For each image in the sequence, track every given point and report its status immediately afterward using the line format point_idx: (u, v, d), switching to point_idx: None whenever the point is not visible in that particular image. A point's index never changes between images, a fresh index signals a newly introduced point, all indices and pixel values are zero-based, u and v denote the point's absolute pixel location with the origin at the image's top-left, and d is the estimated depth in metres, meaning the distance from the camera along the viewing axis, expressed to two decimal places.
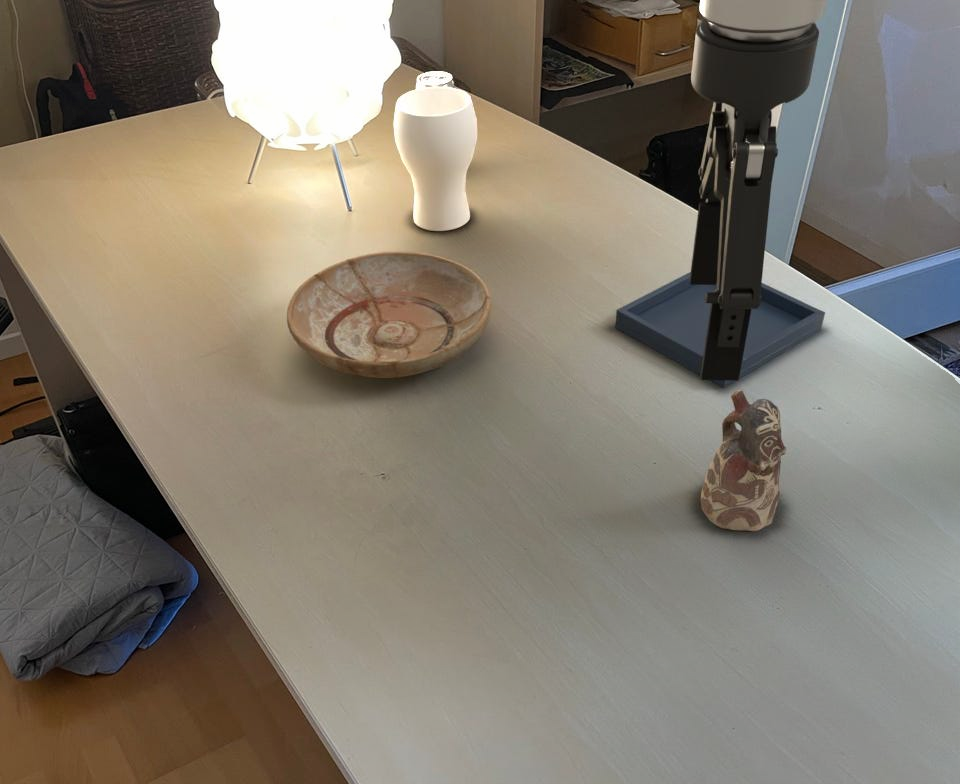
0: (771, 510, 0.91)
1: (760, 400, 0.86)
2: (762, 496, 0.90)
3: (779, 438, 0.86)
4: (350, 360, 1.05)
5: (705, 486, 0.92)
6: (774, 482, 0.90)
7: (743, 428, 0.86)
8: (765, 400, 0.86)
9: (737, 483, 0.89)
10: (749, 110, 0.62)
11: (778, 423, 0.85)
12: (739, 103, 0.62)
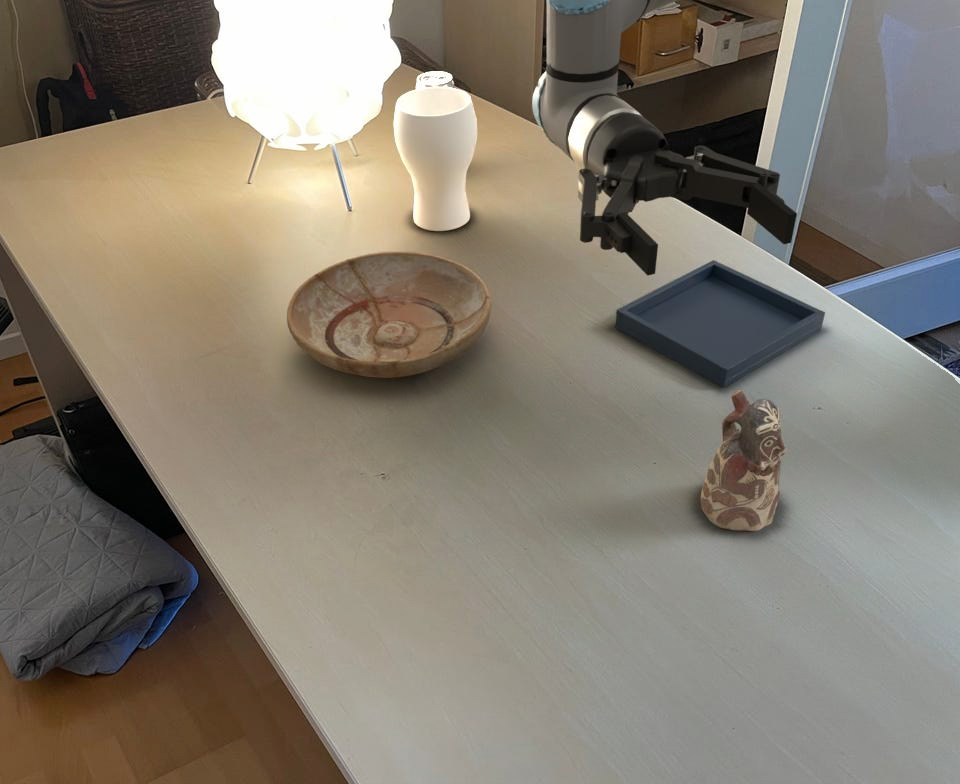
0: (771, 510, 0.91)
1: (760, 400, 0.86)
2: (762, 496, 0.90)
3: (779, 438, 0.86)
4: (350, 360, 1.05)
5: (705, 486, 0.92)
6: (774, 482, 0.90)
7: (743, 428, 0.86)
8: (765, 400, 0.86)
9: (737, 483, 0.89)
10: None
11: (778, 423, 0.85)
12: None
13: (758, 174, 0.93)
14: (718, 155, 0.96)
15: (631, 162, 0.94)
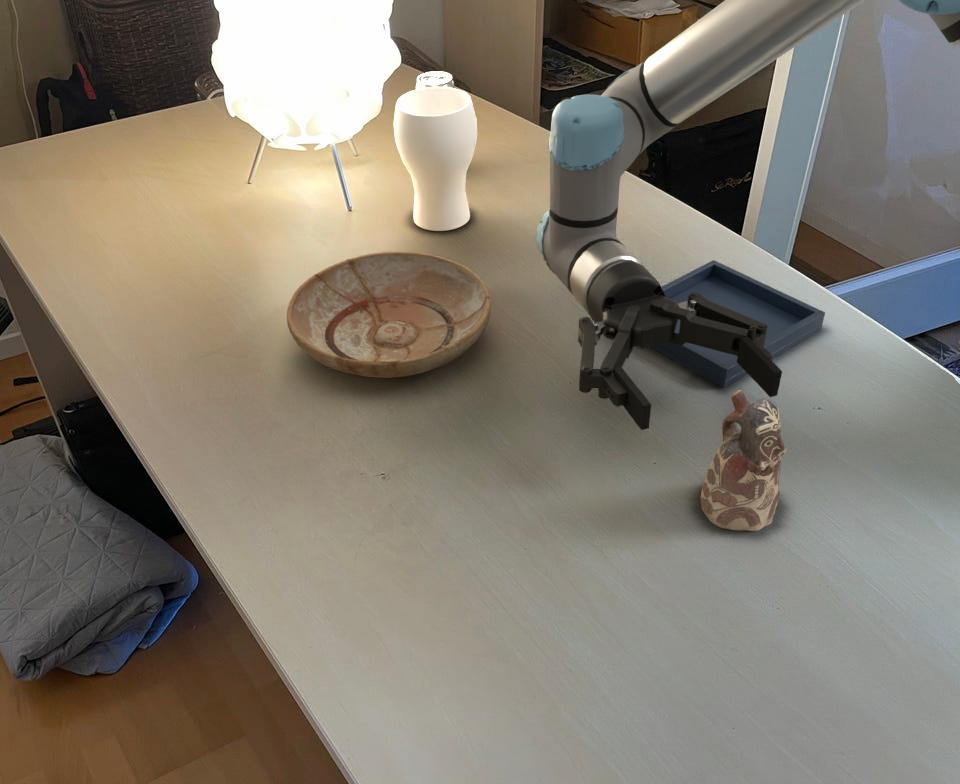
0: (771, 510, 0.91)
1: (760, 400, 0.86)
2: (762, 496, 0.90)
3: (779, 438, 0.86)
4: (350, 360, 1.05)
5: (705, 486, 0.92)
6: (774, 482, 0.90)
7: (743, 428, 0.86)
8: (765, 400, 0.86)
9: (737, 483, 0.89)
10: (600, 320, 1.04)
11: (778, 423, 0.85)
12: None
13: (747, 325, 0.99)
14: (710, 303, 1.02)
15: (628, 312, 1.00)
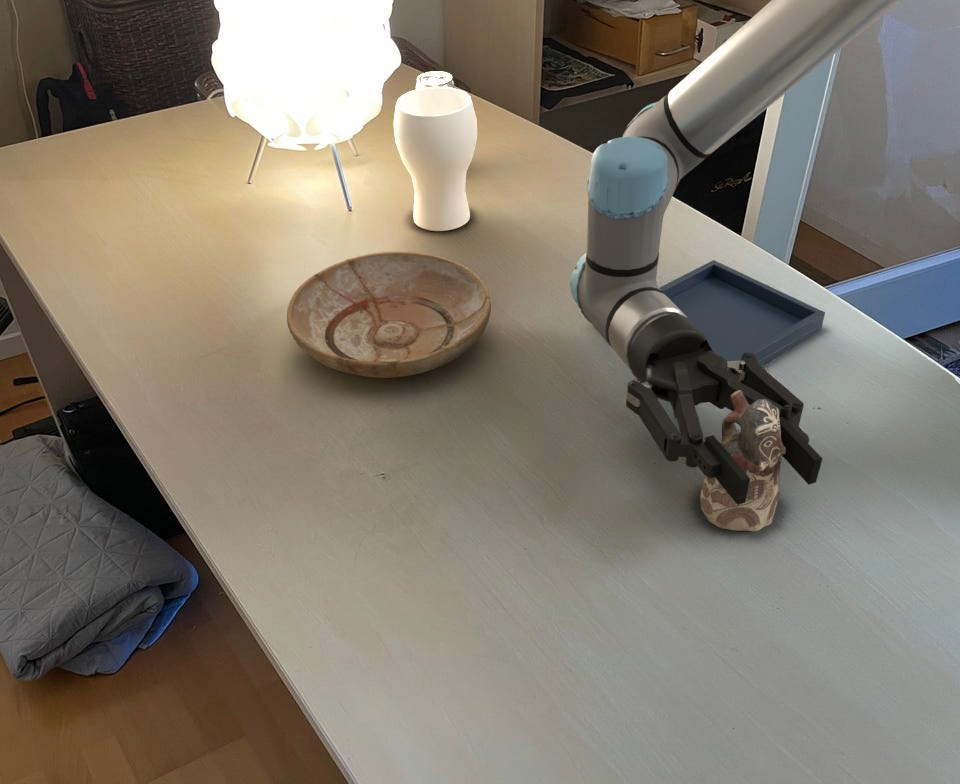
0: (771, 510, 0.91)
1: (759, 400, 0.86)
2: (761, 496, 0.90)
3: (778, 438, 0.86)
4: (350, 360, 1.05)
5: (705, 486, 0.92)
6: (773, 482, 0.90)
7: (742, 428, 0.86)
8: (764, 400, 0.86)
9: None
10: (642, 377, 0.97)
11: (777, 423, 0.85)
12: (641, 380, 0.98)
13: (783, 399, 0.92)
14: (759, 368, 0.95)
15: (674, 370, 0.94)
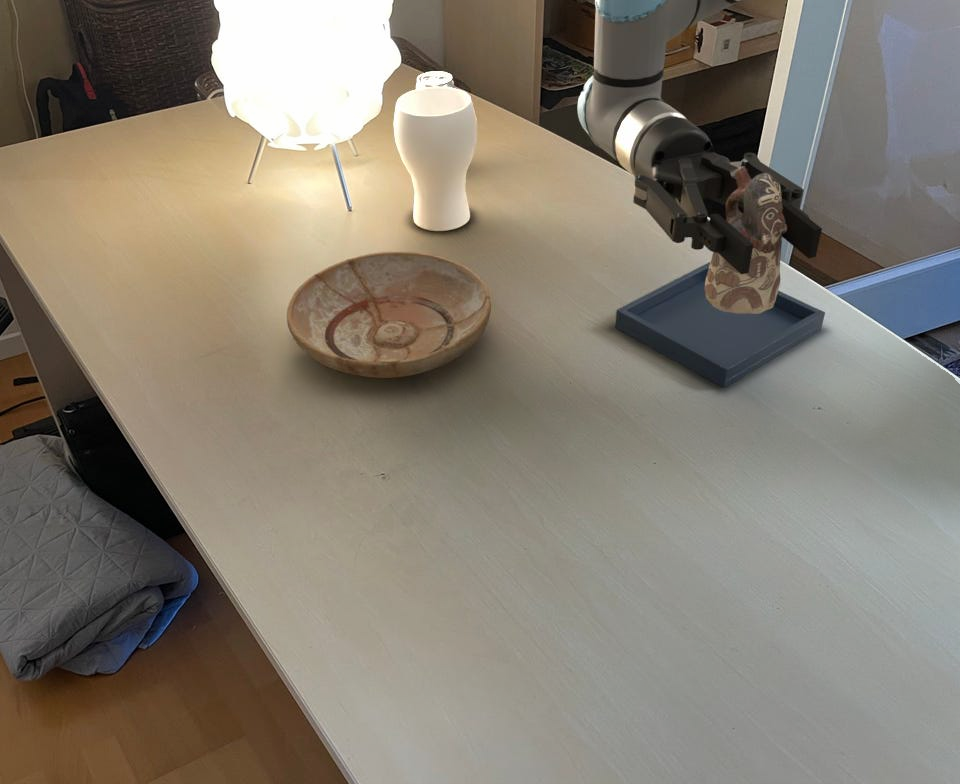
0: (772, 292, 0.96)
1: (762, 173, 0.90)
2: (764, 275, 0.94)
3: (780, 211, 0.90)
4: (350, 360, 1.05)
5: (709, 271, 0.96)
6: (775, 261, 0.94)
7: (745, 201, 0.90)
8: (767, 173, 0.90)
9: None
10: (649, 177, 1.02)
11: (779, 195, 0.90)
12: None
13: (784, 187, 0.96)
14: (760, 164, 0.99)
15: (679, 164, 0.98)
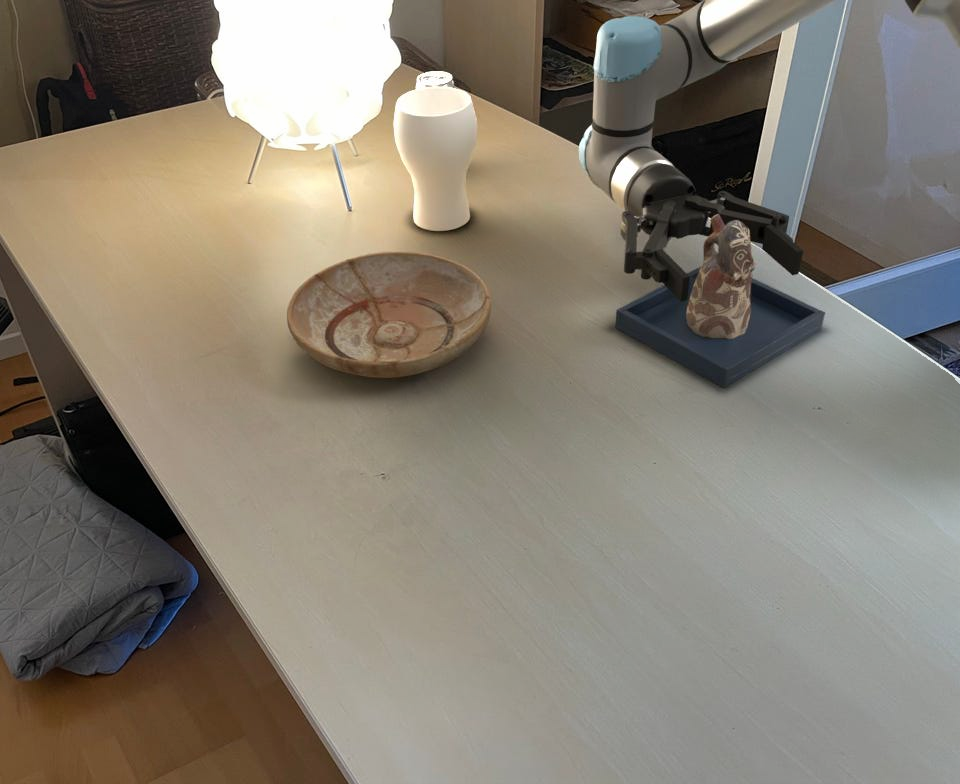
0: (744, 320, 1.11)
1: (734, 220, 1.05)
2: (736, 306, 1.09)
3: (749, 252, 1.06)
4: (350, 360, 1.05)
5: (690, 302, 1.12)
6: (745, 294, 1.09)
7: (719, 244, 1.06)
8: (737, 220, 1.05)
9: (715, 293, 1.08)
10: None
11: (748, 239, 1.05)
12: None
13: (771, 216, 1.13)
14: (737, 199, 1.16)
15: (665, 206, 1.14)
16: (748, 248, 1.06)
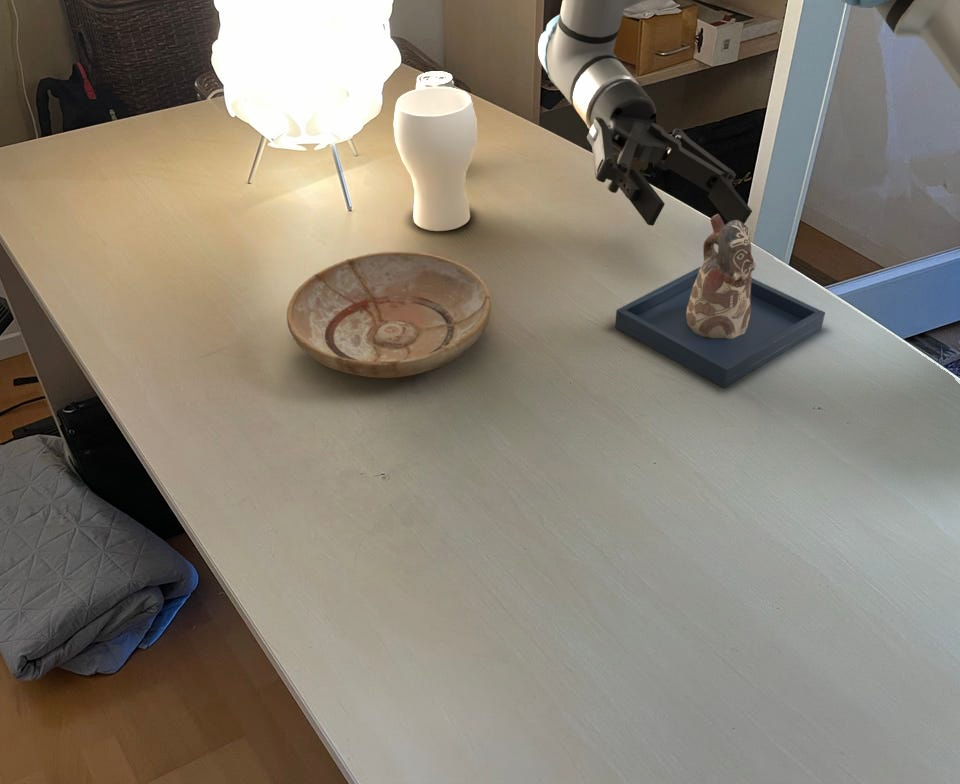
0: (744, 320, 1.11)
1: (733, 220, 1.05)
2: (736, 306, 1.09)
3: (749, 252, 1.06)
4: (350, 360, 1.05)
5: (690, 302, 1.12)
6: (745, 294, 1.09)
7: (719, 244, 1.06)
8: (737, 220, 1.05)
9: (715, 293, 1.08)
10: None
11: (748, 239, 1.05)
12: None
13: (721, 168, 1.20)
14: (692, 142, 1.22)
15: (635, 125, 1.17)
16: (748, 248, 1.06)
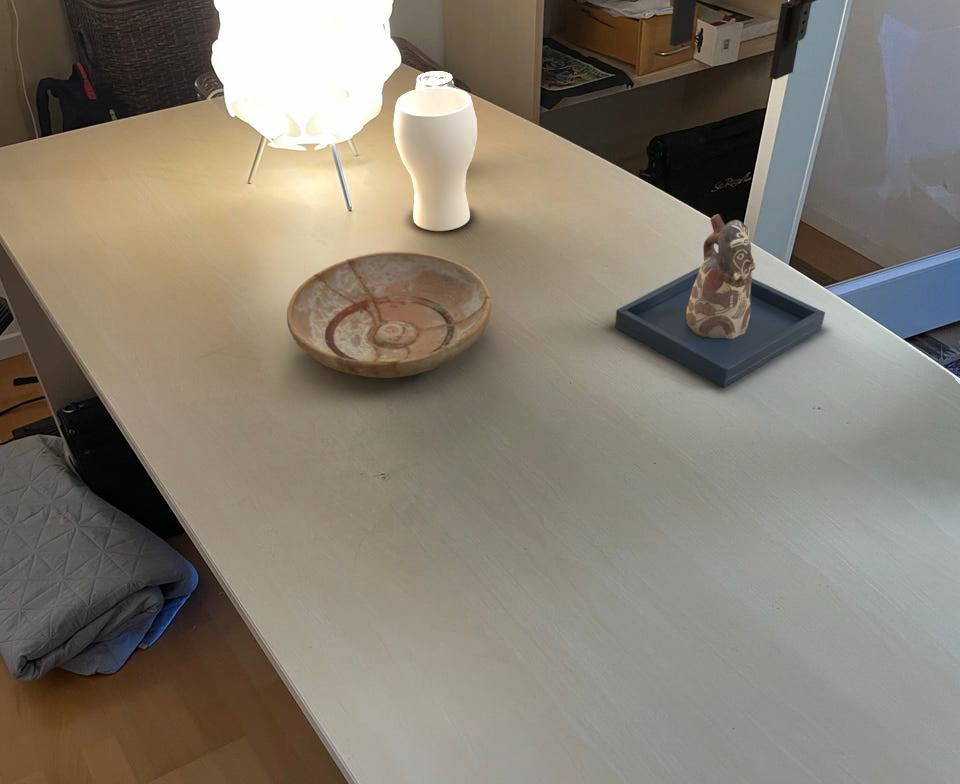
0: (744, 320, 1.11)
1: (733, 220, 1.05)
2: (736, 306, 1.09)
3: (749, 252, 1.06)
4: (350, 360, 1.05)
5: (690, 302, 1.12)
6: (745, 294, 1.09)
7: (719, 244, 1.06)
8: (737, 220, 1.05)
9: (715, 293, 1.08)
10: None
11: (748, 239, 1.05)
12: None
13: None
14: None
15: None
16: (748, 248, 1.06)
